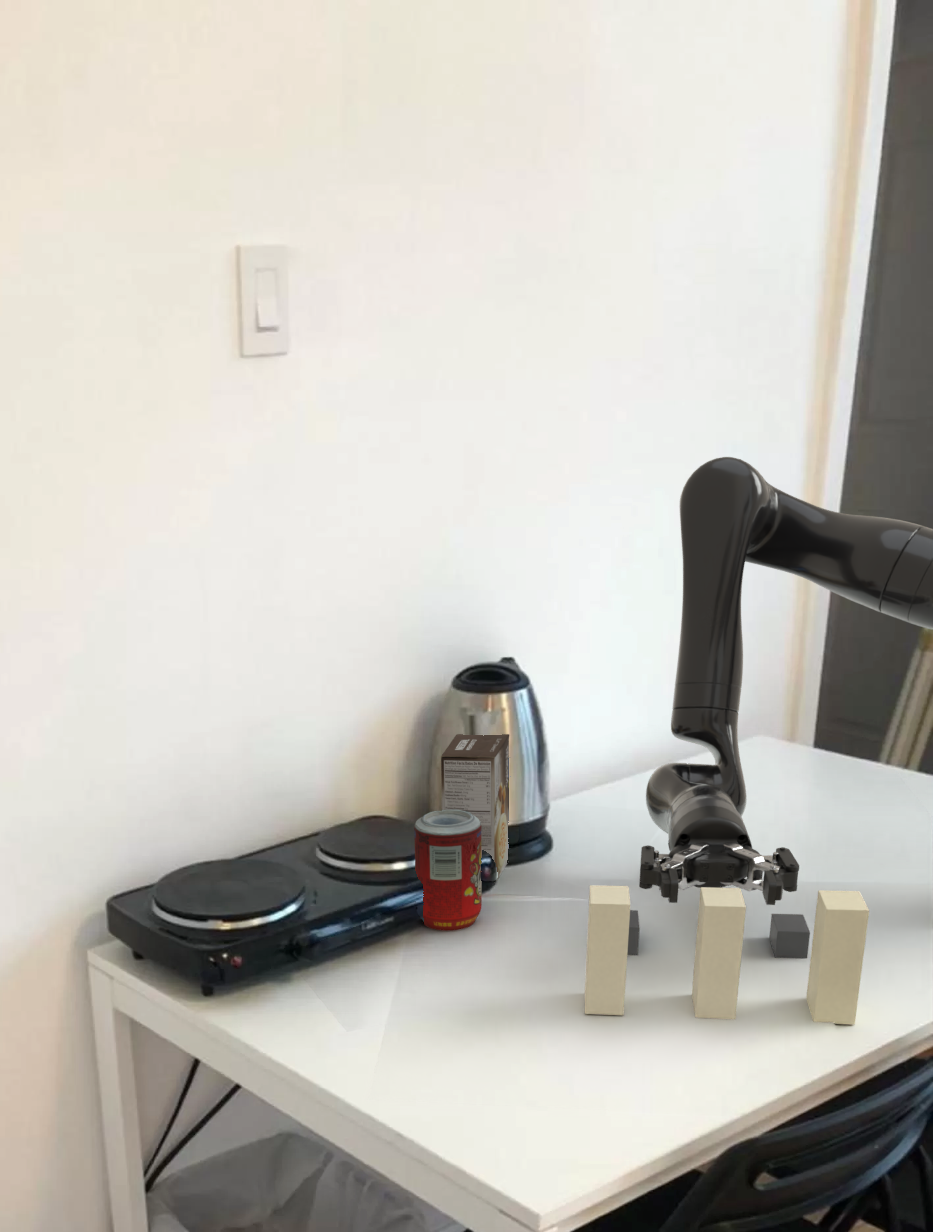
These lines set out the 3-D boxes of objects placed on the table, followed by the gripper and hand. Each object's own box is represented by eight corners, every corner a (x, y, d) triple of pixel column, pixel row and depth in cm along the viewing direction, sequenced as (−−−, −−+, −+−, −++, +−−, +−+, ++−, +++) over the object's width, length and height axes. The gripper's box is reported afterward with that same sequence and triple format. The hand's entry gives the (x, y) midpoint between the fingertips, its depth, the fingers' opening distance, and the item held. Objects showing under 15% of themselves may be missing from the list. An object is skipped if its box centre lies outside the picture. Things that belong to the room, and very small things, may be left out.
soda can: (487, 933, 159) (486, 824, 154) (420, 938, 159) (417, 830, 154) (476, 909, 165) (475, 803, 160) (412, 913, 166) (409, 808, 161)
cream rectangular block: (622, 994, 143) (628, 885, 138) (623, 1015, 138) (630, 904, 134) (584, 992, 144) (589, 885, 139) (584, 1014, 139) (590, 903, 135)
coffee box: (456, 860, 181) (455, 732, 174) (509, 863, 179) (510, 733, 172) (441, 888, 173) (439, 754, 167) (496, 891, 171) (497, 756, 164)
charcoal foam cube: (799, 946, 151) (803, 914, 150) (806, 965, 147) (810, 932, 145) (768, 945, 152) (771, 913, 150) (774, 964, 147) (777, 931, 146)
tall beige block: (730, 997, 141) (740, 888, 136) (735, 1019, 136) (746, 906, 132) (691, 996, 141) (700, 887, 137) (695, 1018, 137) (704, 905, 133)
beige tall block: (845, 1002, 138) (859, 890, 134) (854, 1025, 134) (869, 910, 129) (805, 1001, 139) (818, 890, 135) (813, 1023, 134) (826, 909, 130)
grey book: (635, 941, 155) (637, 910, 153) (637, 959, 150) (639, 927, 149) (605, 940, 155) (607, 909, 154) (606, 958, 151) (608, 926, 150)
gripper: (637, 804, 151) (644, 854, 137) (786, 805, 148) (810, 856, 133) (633, 874, 154) (639, 930, 140) (779, 876, 151) (801, 934, 136)
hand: (723, 894), depth 137 cm, fingers open, 8 cm apart
